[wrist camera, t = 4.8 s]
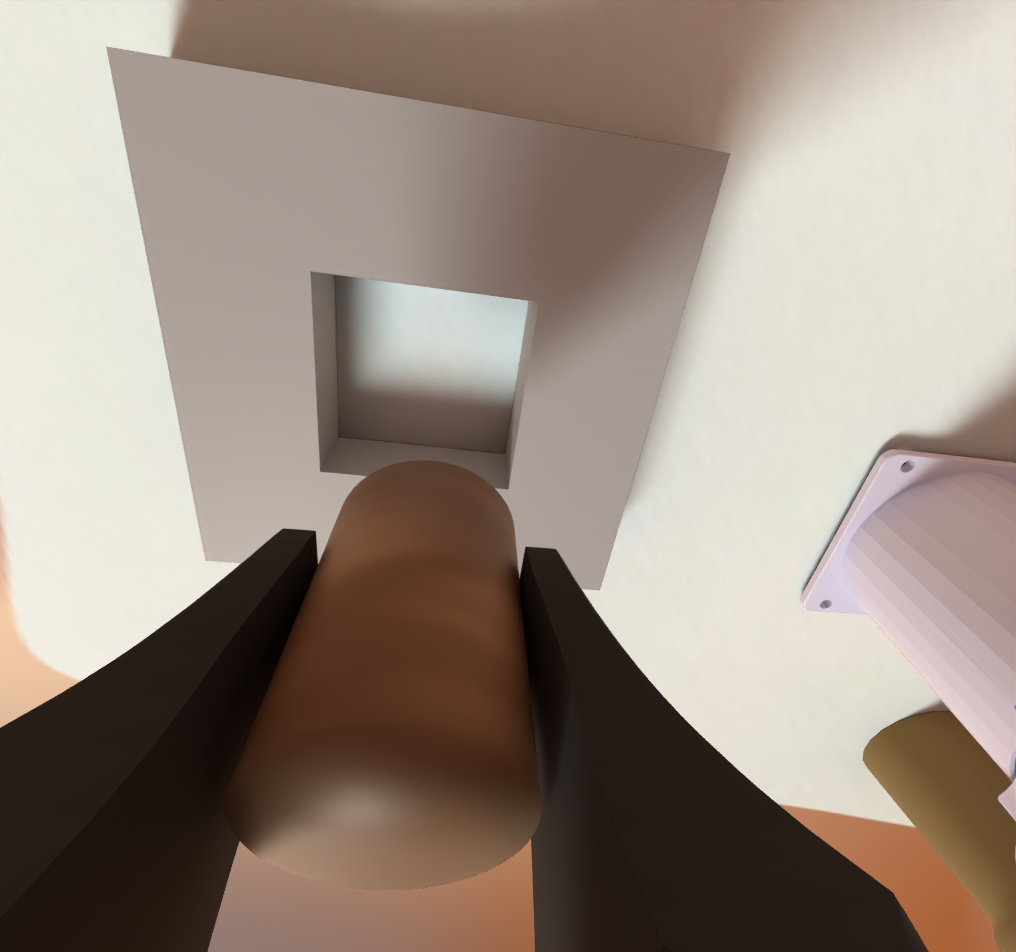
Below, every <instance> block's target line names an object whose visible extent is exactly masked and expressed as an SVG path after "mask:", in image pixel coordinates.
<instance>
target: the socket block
mask: <svg viewBox="0 0 1016 952" xmlns="http://www.w3.org/2000/svg"><path fill="white" fill-rule="evenodd" d="M107 53H108V58H109V63H110V68H111V73H112V79H113V84H114V89H115V94H116V99H117V104H118V110H119V115H120V120H121V125H122V130H123V136H124V141H125V146H126V151H127V156H128V161H129V167H130V172H131V177H132V182H133V187H134V192H135V198H136V203H137V208H138V213H139V218H140V224H141V229H142V234H143V239H144V244H145V249H146V255H147V260H148V265H149V270H150V275H151V281H152V286H153V291H154V296H155V301H156V306H157V312H158V317H159V322H160V327H161V332H162V338H163V343H164V348H165V353H166V358H167V363H168V369H169V374H170V379H171V384H172V389H173V394H174V400H175V405H176V410H177V415H178V420H179V426H180V431H181V436H182V441H183V446H184V451H185V457H186V462H187V467H188V472H189V477H190V483H191V488H192V493H193V498H194V503H195V508H196V514H197V519H198V524H199V529H200V534H201V540H202V545H203V550H204V555H205V560H206V561H218V562H231V563H242V562H244V561H245V560H246V559H247V558H248V557H249V556H251V555H252V554H253V553H254V552H255V551H256V550H258V549H259V548H260V547H261V546H262V545H263V544H265V543H266V542H267V541H268V540H269V539H270V538H272V537H273V536H274V535H275V534H276V533H278V532H279V531H280V530H282V529H283V528H286V529H299V530H313V531H316V539H317V554H318V564H319V561H320V559H321V556H322V554H323V552H324V549H325V547H326V544H327V542H328V539H329V537H330V534H331V532H332V529H333V527H334V525H335V522H336V520H337V517H338V515H339V512H340V510H341V507H342V505H343V503H344V501H345V499H346V498H347V496H348V495H349V493H350V492H351V491H352V489H353V488H354V487H355V486H356V485H357V484H358V483H359V482H360V481H361V480H363V479H364V478H366V477H367V476H368V475H370V474H371V473H373V472H375V471H377V470H379V469H381V468H384V467H386V466H389V465H392V464H396V463H400V462H405V461H414V460H431V461H440V462H445V463H449V464H453V465H456V466H459V467H462V468H465V469H467V470H469V471H471V472H473V473H475V474H477V475H478V476H480V477H481V478H483V479H484V480H486V481H487V482H488V483H489V484H490V485H492V486H493V487H494V488H495V489H496V490H497V491H498V493H499V494H500V495H501V496H502V498H503V499H504V501H505V502H506V504H507V505H508V508H509V510H510V512H511V514H512V518H513V521H514V528H515V538H516V548H517V558H518V569H519V579H520V573H521V568H522V562H523V557H524V552H525V546H526V547H539V548H552V549H556V550H557V551H558V552H559V554H560V555H561V557H562V558H563V560H564V562H565V564H566V565H567V567H568V568H569V570H570V572H571V573H572V575H573V577H574V578H575V580H576V581H577V583H578V585H579V586H580V588H581V589H590V590H600V588H601V585H602V582H603V578H604V575H605V572H606V568H607V565H608V562H609V558H610V555H611V551H612V548H613V545H614V541H615V538H616V535H617V531H618V528H619V525H620V521H621V518H622V515H623V511H624V508H625V505H626V501H627V498H628V495H629V491H630V488H631V484H632V481H633V478H634V474H635V471H636V468H637V464H638V461H639V458H640V454H641V451H642V448H643V444H644V441H645V438H646V434H647V431H648V428H649V424H650V421H651V417H652V414H653V411H654V407H655V404H656V401H657V397H658V394H659V391H660V387H661V384H662V381H663V377H664V374H665V371H666V367H667V364H668V361H669V357H670V354H671V350H672V347H673V344H674V340H675V337H676V334H677V330H678V327H679V324H680V320H681V317H682V314H683V310H684V307H685V304H686V300H687V297H688V294H689V290H690V287H691V283H692V280H693V277H694V273H695V270H696V267H697V263H698V260H699V257H700V253H701V250H702V247H703V243H704V240H705V237H706V233H707V230H708V227H709V223H710V220H711V216H712V213H713V210H714V206H715V203H716V200H717V196H718V193H719V190H720V186H721V183H722V180H723V176H724V173H725V170H726V166H727V163H728V160H729V156H730V153H724V152H718V151H712V150H706V149H700V148H695V147H689V146H683V145H677V144H671V143H665V142H660V141H654V140H648V139H642V138H636V137H630V136H625V135H619V134H613V133H607V132H601V131H595V130H590V129H584V128H578V127H572V126H566V125H560V124H555V123H549V122H543V121H537V120H531V119H525V118H520V117H514V116H508V115H502V114H496V113H490V112H485V111H479V110H473V109H467V108H461V107H455V106H450V105H444V104H438V103H432V102H426V101H420V100H415V99H409V98H403V97H397V96H391V95H385V94H380V93H374V92H368V91H362V90H356V89H350V88H345V87H339V86H333V85H327V84H321V83H315V82H310V81H304V80H298V79H292V78H286V77H281V76H275V75H269V74H263V73H257V72H251V71H246V70H240V69H234V68H228V67H222V66H216V65H211V64H205V63H199V62H193V61H187V60H181V59H176V58H170V57H164V56H158V55H152V54H146V53H141V52H135V51H129V50H123V49H117V48H111V47H107ZM334 275H342V276H349V277H357V278H364V279H371V280H379V281H386V282H394V283H401V284H409V285H416V286H424V287H431V288H439V289H446V290H454V291H461V292H468V293H476V294H483V295H491V296H498V297H506V298H513V299H521V300H528V301H529V304H528V310H527V317H526V323H525V330H524V336H523V343H522V350H521V356H520V363H519V369H518V376H517V382H516V389H515V395H514V402H513V408H512V415H511V422H510V428H509V435H508V441H507V448H506V454H502V453H492V452H482V451H472V450H462V449H453V448H443V447H433V446H423V445H413V444H403V443H394V442H384V441H374V440H364V439H354V438H345V437H339V427H338V389H337V352H336V314H335V276H334Z"/></svg>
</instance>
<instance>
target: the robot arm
mask: <svg viewBox="0 0 1016 952" xmlns="http://www.w3.org/2000/svg"><path fill="white" fill-rule="evenodd" d="M906 461H907V463H906V464H905V465H904V466H902V465H903V463H905V462H906ZM901 466H902V467H901ZM317 566H318V554H317V539H316V531H313V530H299V529H286V528H283V529H282V530H280V531H279V532H278V533H276V534H275V535H274V536H273V537H272V538H270V539H269V540H268V541H267V542H266V543H265V544H263V545H262V546H261V547H260V548H259V549H258V550H256V551H255V552H254V553H253V554H252V555H251V556H249V557H248V558H247V559H246V560H245V561H244V562H242V563H241V564H240V565H239V566H238V567H236V568H235V569H234V570H233V571H232V572H231V573H229V574H228V575H227V576H226V577H224V578H223V579H222V580H221V581H220V582H218V583H217V584H216V585H215V586H213V587H212V588H211V589H210V590H208V591H207V592H206V593H205V594H204V595H202V596H201V597H200V598H199V599H197V600H196V601H195V602H194V603H192V604H191V605H190V606H188V607H187V608H186V609H185V610H183V611H182V612H181V613H179V614H178V615H176V616H175V617H174V618H172V619H171V620H170V621H168V622H167V623H166V624H164V625H163V626H162V627H160V628H159V629H158V630H156V631H155V632H154V633H152V634H151V635H150V636H148V637H147V638H145V639H144V640H143V641H141V642H140V643H138V644H137V645H136V646H134V647H133V648H131V649H130V650H128V651H127V652H125V653H124V654H122V655H121V656H119V657H118V658H116V659H115V660H113V661H112V662H110V663H109V664H107V665H106V666H104V667H102V668H101V669H99V670H98V671H96V672H95V673H93V674H91V675H90V676H88V677H87V678H85V679H84V680H82V681H80V682H79V683H77V684H76V685H74V686H72V687H71V688H69V689H67V690H66V691H64V692H62V693H61V694H59V695H57V696H55V697H54V698H52V699H50V700H49V701H47V702H45V703H43V704H42V705H40V706H38V707H36V708H35V709H33V710H31V711H29V712H28V713H26V714H24V715H22V716H20V717H19V718H17V719H15V720H13V721H12V722H10V723H8V724H6V725H5V726H3V727H1V728H0V952H207V951H208V948H209V943H210V940H211V936H212V933H213V929H214V926H215V922H216V919H217V916H218V912H219V909H220V905H221V902H222V898H223V894H224V891H225V888H226V884H227V881H228V877H229V874H230V871H231V867H232V864H233V860H234V857H235V854H236V850H237V847H238V844H239V841H240V840H238V838H237V837H236V835H235V834H234V833H233V831H232V830H231V828H230V826H229V824H228V821H227V819H226V815H225V810H224V798H225V793H226V790H227V787H228V784H229V781H230V779H231V776H232V774H233V772H234V769H235V767H236V764H237V762H238V759H239V757H240V754H241V752H242V750H243V747H244V745H245V742H246V740H247V737H248V735H249V732H250V730H251V728H252V725H253V723H254V720H255V718H256V715H257V713H258V710H259V708H260V706H261V703H262V701H263V698H264V696H265V693H266V691H267V688H268V686H269V684H270V681H271V679H272V676H273V674H274V671H275V669H276V666H277V664H278V662H279V659H280V657H281V654H282V652H283V649H284V647H285V644H286V642H287V640H288V637H289V635H290V632H291V630H292V627H293V625H294V622H295V620H296V618H297V615H298V613H299V610H300V608H301V605H302V603H303V600H304V598H305V596H306V593H307V591H308V588H309V586H310V583H311V581H312V578H313V576H314V574H315V571H316V569H317ZM520 590H521V600H522V610H523V620H524V630H525V641H526V651H527V661H528V672H529V682H530V692H531V703H532V713H533V723H534V734H535V744H536V754H537V765H538V775H539V785H540V796H541V806H542V810H541V819H540V822H539V824H538V827H537V830H536V831H535V833H534V834H533V836H532V838H531V847H532V868H533V869H532V871H533V901H534V929H535V952H928V950H927V948H926V947H925V945H924V943H923V941H922V940H921V938H920V936H919V934H918V932H917V931H916V929H915V928H914V926H913V924H912V923H911V921H910V920H909V918H908V916H907V914H906V913H905V911H904V909H903V908H902V906H901V905H900V903H899V902H898V900H897V899H896V897H895V895H894V894H893V892H891V891H890V890H889V889H887V888H886V887H884V886H883V885H882V884H880V883H879V882H878V881H877V880H875V879H874V878H873V877H871V876H870V875H869V874H867V873H866V872H865V871H863V870H862V869H861V868H859V867H858V866H856V865H855V864H854V863H853V862H851V861H850V860H849V859H847V858H846V857H844V856H843V855H842V854H840V853H839V852H838V851H837V850H835V849H834V848H832V847H831V846H830V845H828V844H827V843H826V842H825V841H823V840H822V839H821V838H819V837H818V836H816V835H815V834H814V833H812V832H811V831H810V830H808V829H807V828H806V827H805V826H804V825H802V824H801V823H800V822H799V821H798V820H796V819H795V818H794V817H793V816H791V815H790V814H789V813H788V812H787V811H785V810H784V809H783V808H781V806H779V805H778V804H777V803H776V802H775V801H773V800H772V799H771V798H770V797H769V796H767V795H766V794H765V793H764V792H763V791H761V790H760V789H759V788H758V787H757V786H756V785H754V784H753V783H752V782H751V781H750V780H749V779H748V778H746V777H745V776H744V775H743V774H742V773H741V772H740V771H739V770H737V769H736V768H735V767H734V766H733V765H732V764H731V763H730V762H729V761H728V760H727V759H726V758H725V757H724V756H722V755H721V754H720V753H719V752H718V751H717V750H716V749H715V748H714V747H713V746H712V745H711V744H710V743H709V742H707V741H706V740H705V739H704V738H703V737H702V736H701V735H700V734H699V733H698V732H697V731H696V730H695V729H694V728H693V727H692V726H691V725H690V724H689V723H688V722H687V721H686V720H685V719H684V718H683V717H682V716H681V715H680V714H679V713H678V712H677V711H676V710H675V708H674V707H673V706H672V705H671V704H670V703H669V702H668V701H667V700H666V699H665V698H664V697H663V696H662V694H661V693H660V692H659V691H658V690H657V689H656V688H655V686H654V685H653V684H652V683H651V682H650V681H649V680H648V678H647V677H646V676H645V675H644V674H643V672H642V671H641V670H640V669H639V668H638V666H637V665H636V664H635V663H634V661H633V660H632V659H631V658H630V656H629V655H628V654H627V652H626V651H625V650H624V649H623V647H622V646H621V645H620V643H619V642H618V641H617V639H616V638H615V637H614V635H613V634H612V633H611V631H610V630H609V629H608V627H607V626H606V624H605V623H604V622H603V620H602V619H601V617H600V616H599V614H598V613H597V612H596V610H595V609H594V607H593V606H592V604H591V603H590V601H589V600H588V598H587V597H586V595H585V594H584V592H583V591H582V589H581V588H580V586H579V585H578V583H577V581H576V580H575V578H574V577H573V575H572V573H571V572H570V570H569V568H568V567H567V565H566V564H565V562H564V560H563V558H562V557H561V555H560V554H559V552H558V551H557V550H556V549H552V548H539V547H526V546H525V552H524V557H523V562H522V568H521V573H520ZM800 603H801V604H802V606H803V607H804V608H805V609H806V610H809V611H819V612H833V613H846V614H860V615H868V616H869V617H870V618H871V620H872V621H873V622H874V623H875V624H876V625H877V627H878V628H879V629H880V630H881V631H882V632H883V633H884V635H885V636H886V637H887V638H888V639H889V640H890V642H891V643H892V644H893V645H894V646H895V647H896V648H897V650H898V651H899V652H900V653H901V654H902V655H903V656H904V658H905V659H906V660H907V661H908V662H909V663H910V665H911V666H912V667H913V668H914V669H915V670H916V671H917V673H918V674H919V675H920V676H921V677H922V678H923V679H924V681H925V682H926V683H927V684H928V685H929V686H930V688H931V689H932V690H933V691H934V692H935V693H936V694H937V696H938V697H939V698H940V699H941V700H942V701H943V703H944V704H945V705H946V706H947V707H948V708H949V709H950V711H951V712H952V713H953V714H954V715H955V716H956V717H957V719H958V720H959V721H960V722H961V723H962V724H963V726H964V727H965V728H966V729H967V730H968V731H969V732H970V734H971V735H972V736H973V737H974V738H975V739H976V740H977V742H978V743H979V744H980V745H981V746H982V747H983V749H984V750H985V751H986V752H987V753H988V754H989V755H990V757H991V758H992V759H993V760H994V761H995V762H996V764H997V765H998V766H999V767H1000V768H1001V769H1002V770H1003V772H1004V773H1005V774H1006V775H1007V776H1008V777H1009V778H1010V780H1011V781H1012V782H1013V783H1012V784H1011V785H1010V786H1009V787H1008V789H1007V790H1006V791H1004V792H1003V793H1002V794H1001V795H999V796H998V800H999V802H1000V803H1001V804H1002V805H1003V806H1004V808H1005V809H1006V810H1007V811H1008V813H1009V814H1010V815H1011V816H1012V817H1013V819H1014V820H1015V821H1016V462H1007V461H998V460H989V459H980V458H971V457H962V456H953V455H944V454H935V453H926V452H917V451H908V450H899V449H891V450H888V451H886V452H884V453H883V454H881V455H880V457H879V458H878V459H877V461H876V463H875V465H874V466H873V468H872V470H871V472H870V474H869V475H868V477H867V479H866V481H865V482H864V484H863V486H862V488H861V490H860V491H859V493H858V495H857V497H856V499H855V500H854V502H853V504H852V506H851V508H850V509H849V511H848V513H847V515H846V517H845V518H844V520H843V522H842V524H841V526H840V527H839V529H838V531H837V533H836V535H835V536H834V538H833V540H832V542H831V544H830V545H829V547H828V549H827V551H826V552H825V554H824V556H823V558H822V560H821V561H820V563H819V565H818V567H817V569H816V570H815V572H814V574H813V576H812V578H811V579H810V581H809V583H808V585H807V587H806V588H805V590H804V592H803V594H802V596H801V598H800ZM1015 860H1016V846H1015Z"/></svg>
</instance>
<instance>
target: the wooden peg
mask: <svg viewBox="0 0 1016 952" xmlns="http://www.w3.org/2000/svg"><path fill="white" fill-rule="evenodd" d="M224 810H225V815H226V819H227V821H228V824H229V826H230V828H231V830H232V831H233V833H234V834H235V835H236V837H237V838H238V840H240V841H241V842H242V843H243V844H244V845H245V846H246V847H247V848H248V849H249V850H250V851H252V852H253V853H254V854H255V855H257V856H258V857H260V858H261V859H263V860H264V861H266V862H268V863H270V864H271V865H273V866H275V867H278V868H280V869H282V870H284V871H286V872H289V873H291V874H294V875H297V876H299V877H302V878H306V879H309V880H312V881H316V882H320V883H325V884H330V885H334V886H340V887H347V888H355V889H366V890H408V889H419V888H427V887H433V886H439V885H444V884H449V883H453V882H457V881H460V880H463V879H467V878H470V877H473V876H476V875H478V874H481V873H483V872H486V871H488V870H490V869H492V868H494V867H496V866H498V865H500V864H502V863H503V862H505V861H506V860H508V859H509V858H511V857H513V856H514V855H515V854H516V853H517V852H518V851H520V850H521V849H522V848H523V847H524V846H525V845H526V844H527V843H528V841H529V840H530V839H531V838H532V836H533V834H534V833H535V831H536V830H537V827H538V824H539V822H540V819H541V810H542V806H541V796H540V785H539V775H538V765H537V754H536V744H535V734H534V723H533V713H532V703H531V692H530V682H529V672H528V661H527V651H526V641H525V630H524V620H523V610H522V600H521V590H520V579H519V569H518V558H517V548H516V538H515V528H514V521H513V518H512V514H511V512H510V510H509V508H508V505H507V504H506V502H505V501H504V499H503V498H502V496H501V495H500V494H499V493H498V491H497V490H496V489H495V488H494V487H493V486H492V485H490V484H489V483H488V482H487V481H486V480H484V479H483V478H481V477H480V476H478V475H477V474H475V473H473V472H471V471H469V470H467V469H465V468H462V467H459V466H456V465H453V464H449V463H445V462H440V461H431V460H414V461H405V462H400V463H396V464H392V465H389V466H386V467H384V468H381V469H379V470H377V471H375V472H373V473H371V474H370V475H368V476H367V477H366V478H364V479H363V480H361V481H360V482H359V483H358V484H357V485H356V486H355V487H354V488H353V489H352V491H351V492H350V493H349V495H348V496H347V498H346V499H345V501H344V503H343V505H342V507H341V510H340V512H339V515H338V517H337V520H336V522H335V525H334V527H333V529H332V532H331V534H330V537H329V539H328V542H327V544H326V547H325V549H324V552H323V554H322V556H321V559H320V561H319V564H318V566H317V569H316V571H315V574H314V576H313V578H312V581H311V583H310V586H309V588H308V591H307V593H306V596H305V598H304V600H303V603H302V605H301V608H300V610H299V613H298V615H297V618H296V620H295V622H294V625H293V627H292V630H291V632H290V635H289V637H288V640H287V642H286V644H285V647H284V649H283V652H282V654H281V657H280V659H279V662H278V664H277V666H276V669H275V671H274V674H273V676H272V679H271V681H270V684H269V686H268V688H267V691H266V693H265V696H264V698H263V701H262V703H261V706H260V708H259V710H258V713H257V715H256V718H255V720H254V723H253V725H252V728H251V730H250V732H249V735H248V737H247V740H246V742H245V745H244V747H243V750H242V752H241V754H240V757H239V759H238V762H237V764H236V767H235V769H234V772H233V774H232V776H231V779H230V781H229V784H228V787H227V790H226V793H225V798H224Z"/></svg>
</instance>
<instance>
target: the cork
mask: <svg viewBox="0 0 1016 952" xmlns="http://www.w3.org/2000/svg"><path fill="white" fill-rule="evenodd" d="M863 761H864V763H865V765H866V766H867V768H868V769H869V770H870V772H871V773H872V774H873V775H874V777H875V778H876V779H877V780H878V781H879V783H880V784H881V785H882V786H883V788H884V789H885V790H886V791H887V792H888V794H889V795H890V796H891V797H892V799H893V800H894V801H895V802H896V803H897V805H898V806H899V807H900V808H901V810H902V811H903V812H904V813H905V814H906V816H907V817H908V818H909V819H910V821H911V822H912V823H913V824H914V826H915V827H916V828H917V829H918V830H919V831H920V833H921V834H922V835H923V837H924V838H925V839H926V840H927V841H928V843H929V844H930V845H931V846H932V848H933V849H934V850H935V851H936V852H937V854H938V855H939V856H940V857H941V859H942V860H943V861H944V862H945V863H946V865H947V866H948V867H949V868H950V870H951V871H952V872H953V873H954V875H955V876H956V877H957V878H958V879H959V881H960V882H961V883H962V884H963V885H964V887H965V888H966V889H967V890H968V892H969V893H970V894H971V895H972V897H973V898H974V899H975V900H976V901H977V903H978V904H979V905H980V906H981V908H982V909H983V910H984V911H985V912H986V914H987V915H988V916H989V917H990V918H991V920H992V921H993V929H994V939H995V941H996V943H997V945H998V948H999V950H1000V952H1016V860H1015V846H1016V821H1015V820H1014V819H1013V817H1012V816H1011V815H1010V814H1009V813H1008V811H1007V810H1006V809H1005V808H1004V806H1003V805H1002V804H1001V803H1000V802H999V800H998V796H999V795H1001V794H1002V793H1003V792H1004V791H1006V790H1007V789H1008V787H1009V786H1010V785H1011V784H1012V783H1013V782H1012V781H1011V780H1010V778H1009V777H1008V776H1007V775H1006V774H1005V773H1004V772H1003V770H1002V769H1001V768H1000V767H999V766H998V765H997V764H996V762H995V761H994V760H993V759H992V758H991V757H990V755H989V754H988V753H987V752H986V751H985V750H984V749H983V747H982V746H981V745H980V744H979V743H978V742H977V740H976V739H975V738H974V737H973V736H972V735H971V734H970V732H969V731H968V730H967V729H966V728H965V727H964V726H963V724H962V723H961V722H960V721H959V720H958V719H957V717H956V716H955V715H954V714H953V713H952V712H929V713H924V714H919V715H914V716H911V717H909V718H906V719H903V720H901V721H898V722H896V723H894V724H892V725H891V726H889V727H887V728H886V729H884V730H882V731H881V732H880V733H878V734H877V735H876V736H875V737H874V738H873V739H872V740H871V741H870V742H869V744H868V745H867V747H866V748H865V750H864V754H863Z"/></svg>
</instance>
